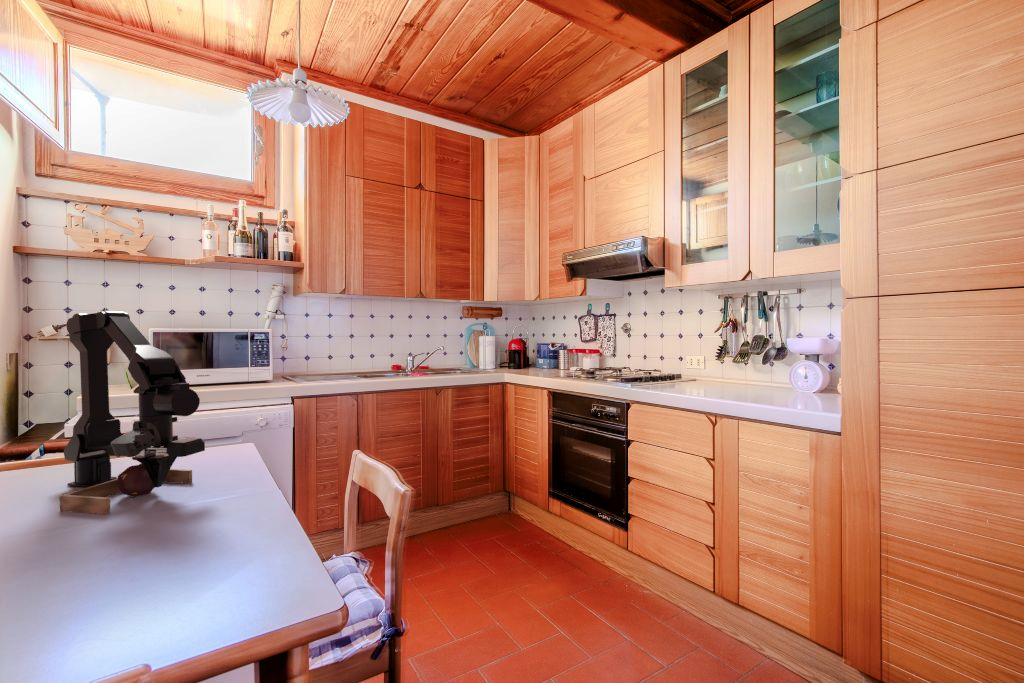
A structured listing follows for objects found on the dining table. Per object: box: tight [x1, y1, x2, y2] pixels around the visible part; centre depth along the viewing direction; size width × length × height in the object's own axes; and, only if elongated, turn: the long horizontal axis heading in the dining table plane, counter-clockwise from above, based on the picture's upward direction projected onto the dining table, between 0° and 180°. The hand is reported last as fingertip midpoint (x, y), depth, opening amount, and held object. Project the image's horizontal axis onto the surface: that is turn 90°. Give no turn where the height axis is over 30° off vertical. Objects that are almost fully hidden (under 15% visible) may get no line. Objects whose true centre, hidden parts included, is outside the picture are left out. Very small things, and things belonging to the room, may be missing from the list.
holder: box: [59, 468, 193, 515], centre depth 104 cm, size 11×20×3 cm, turn 171°
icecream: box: [116, 463, 156, 498], centre depth 104 cm, size 7×7×15 cm
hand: (158, 486), depth 103 cm, fingers closed
